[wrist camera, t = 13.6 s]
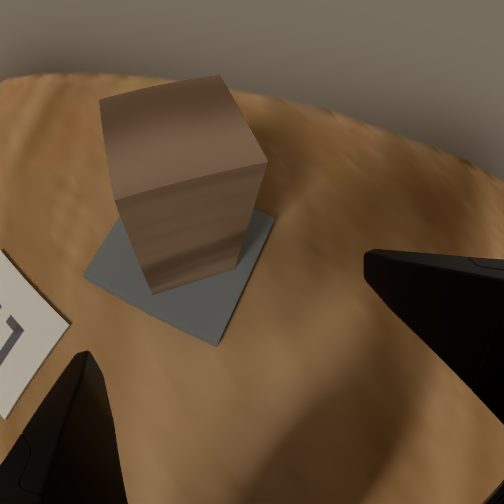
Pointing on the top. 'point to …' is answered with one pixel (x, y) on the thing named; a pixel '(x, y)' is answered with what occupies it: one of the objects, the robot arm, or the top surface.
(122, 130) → the walnut block
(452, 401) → the top surface
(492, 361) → the robot arm
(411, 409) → the top surface
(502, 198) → the top surface
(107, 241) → the rubber mat
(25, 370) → the card
